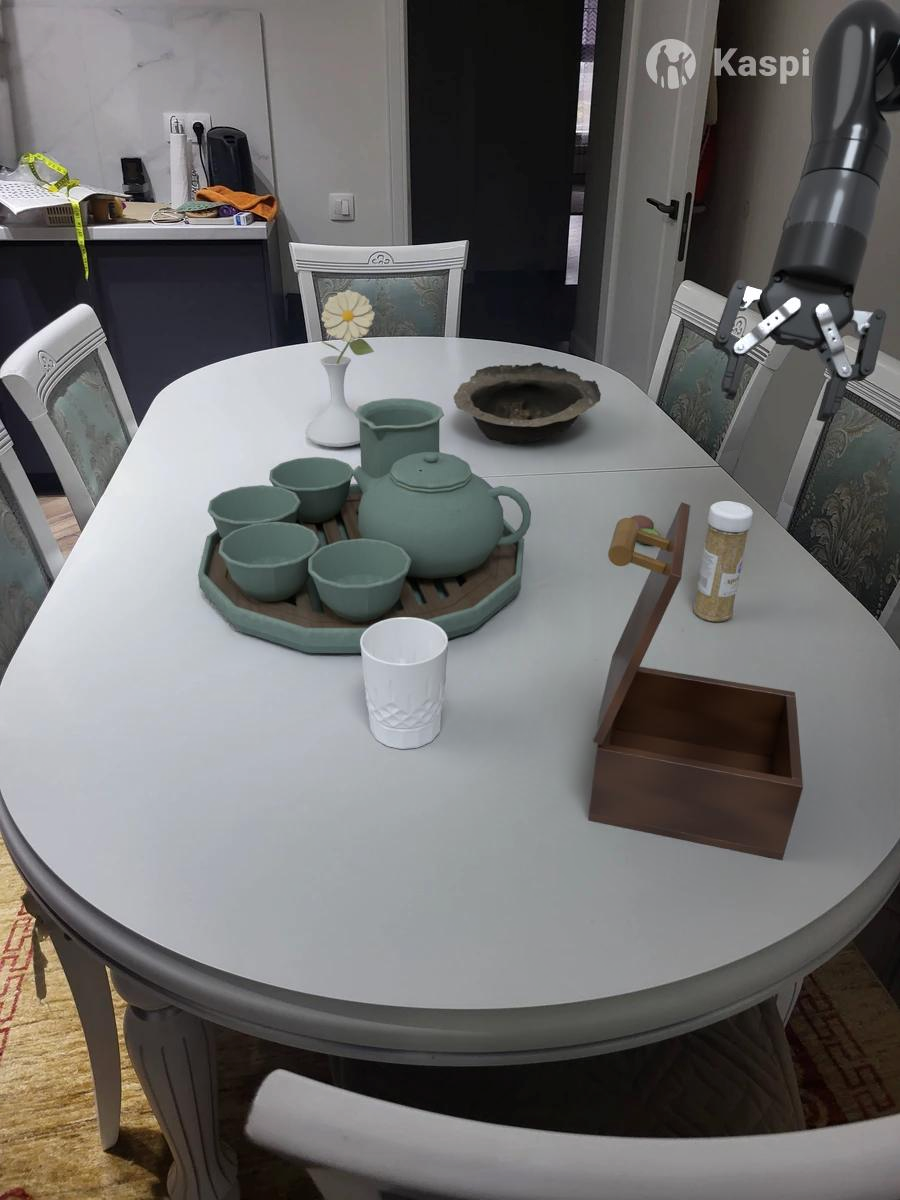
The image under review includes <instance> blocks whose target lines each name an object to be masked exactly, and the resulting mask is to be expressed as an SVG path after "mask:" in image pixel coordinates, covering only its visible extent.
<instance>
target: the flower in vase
mask: <svg viewBox="0 0 900 1200" xmlns="http://www.w3.org/2000/svg"><path fill="white" fill-rule="evenodd" d="M372 309H373V306H372V304H370V299H369V298H367V297H366V296H365V295H362V294H360V293H359V292H357V291H352V290H350V289H346V291H343V292H341V291H338V292H337V293H336V295H333V296H330V297H328V300H327V302H326V303H325V305H324V308H323V311H322V313H321V321H322V322H323V326H324V328H325V329H326V333H327V335H330V337H334V338H335V339H336V340H341V341H342V342H345V343H346V345H345V347H343V349H342V351H341V352H340V350H339V348H337V347H336V346H334V345H332V344H330V343H327V342H325V341H323V340H322V339H321V338H319V337H318V339H319V341H320V342H322V344H324V345H326V346H328V347H330V348H331V349H334V350H335V351H338V352H340V354H339V355H330V356H325V357H322V358H320V360H319V362H320V364H321V365H322V366H323V368H324V369H325V372H326V374H327V377H328V382H329V391H330V399H329V403H328V405H327V407H326V408H325V409H324V410H323V411H321V412H320V413H319V414H318V415H317V416H315V417H314V418H313V419H312V420H311V421H310V422H309V423H308V424H307V426H306V429H305V432H304V433H305V436H306V437H307V438H308V440H309V441H311V442H312V443H315V444H317V445H321V446H325V447H333V448H342V447H343V448H344V447H351V446H355V445H358V444H360V427H359V419H358V418H357V417H356V416H355V415H354V414H355V412H356V410H354V409H352V408H351V407H350V406H349V405H348V403H347V402H346V399H345V398H346V397H345V375H346V371H347V368H348V367H349V365H350V363H351V361H352V359H351V358H350V357H347V356H344V354H345V352H346V351H347V349H348V347H349V348H350V350H351V351H352V352H353V354H354V355H356V356H364V355H368V354H371V353H372V354H373V353H374V352H375V350H374V349H373V348H372V347H371V345H370V344H369V343H368V342H367V341H366V340H364V339H363V336H367V334H368V332H369V331H370V327H371V326H372V325H373V321H374V319H375V314H376V313H375V311H373V310H372Z"/></svg>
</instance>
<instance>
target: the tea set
mask: <svg viewBox="0 0 900 1200" xmlns="http://www.w3.org/2000/svg"><path fill="white" fill-rule="evenodd" d="M354 415H355V416H356V417H357V418H358V419H359V427H360V443H359V448H360V451H359V452H360V465H358V466H356V467H355V468H353V467H352V466H351V465H350V463H347V462H345V461H342V460H339V459H336V458H330V457H320V456H311V457H301V458H300V457H299V458H294V459H291V460H288V461H287V460H286V461H284V462H280V463H279V464H278V465H276V466H274V467H273V468H272V469H270V471H269V478H268V480H269V482H270V483H271V484H272V485H265V484H264V485H263V484H261V485H260V484H259V485H249V486H247V485H246V486H239V487H236V488H233V489H229V490H226V491H223V492H221V493H218V495H216V496H215V497H213V498H212V499H210V500H209V504H208V507H207V513H208V514H209V515H210V517H211V519H212V520H213V523H214V525H215V527H216V529H215V530H214V531H212V532H211V533H210V534H208V535H207V536H206V538H205V543H204V547H203V551H202V555H201V560H200V564H199V568H198V573H197V578H198V585H199V588H200V589H201V591H202V593H203V594H204V596H206V598H207V599H208V600H209V601H210V602H211V603H212V604H213V605H214V606H215V607H216V609H218V611H219V612H220V613H221V614H222V615H223V616H224V617H225V618H226V619H227V620H228V622H229V623H230V624H231V625H232V626H233V627H234V628H235V629H236V630H237V631H238V632H240V633H245V634H247V635H250V636H254V637H257V638H259V639H260V638H261V639H263V640H266V641H268V642H269V641H270V642H273V643H276V644H279V645H282V646H285V647H288V648H291V649H295V650H298V651H301V652H304V653H307V654H361V646H360V639H361V636H362V634H363V633H364V632H365V630H366V629H368V628H369V627H370V626H372V625H373V624H375V623H378V622H380V621H383V620H386V619H391V618H398V617H413V618H420V619H424V620H427V621H430V622H432V623H434V624H436V625H438V626H439V627H441V628H442V629H443V630H444V631H445V633H446V635H447V638H448V639H451V638H456V637H458V636H459V637H460V636H462V635H465V634H469V633H472V632H474V631H475V630H477V629H478V628H479V627H481V626H482V625H483V624H484V623H485V622H487V621H488V620H489V619H490V618H492V617H493V616H495V614H497V613H498V612H499V611H500V610H501V609H503V608H504V607H505V606H507V604H509V603H510V602H511V601H512V600H514V599H515V598H516V597H517V595H518V594H519V592H520V591H521V583H522V574H523V573H522V572H523V562H524V551H525V550H524V548H525V538H524V536H525V535H526V534H527V532H528V529H529V528H530V526H531V517H532V510H531V508H530V504H529V502H528V501H527V499H526V498H525V497H524V495H523V494H522V492H520V491H518V490H517V489H515V488H513V487H510V486H504V485H499V486H496V487H495V486H494V487H493V486H492V485H490V484H489V483H488V482H487V481H486V480H485V479H484V478H483V477H481V476H479V475H477V474H475V473H474V472H473V471H472V469H471V465H470V464H469V463H468V461H465V460H463V459H462V458H460V457H458V456H456V455H454V454H450V453H446V452H441V451H440V421H441V419H442V418H443V417H444V416H445V414H444V411H443V408H442V406H439V405H438V404H435V403H433V402H431V401H427V400H422V399H418V398H417V399H415V398H401V397H400V398H393V397H392V398H384V399H378V400H371V401H370V402H367V403H364V404H361V405H359V406H358V407H357V408H356V410H355V414H354ZM353 478H354V480H355V482H356V483H352V479H353ZM500 496H501V497H502V496H503V497H508V498H510V499H511V500H513V501H515V503H516V504H517V505H518V506H519V508H520V511H521V514H522V520H521V523H520V525H519V527H518V528H517V529H515V528H514V527H513V526H512V525H511V524H510V523H509V522H508V521H507V520H506V519H505V518H504V508H503V505H502V503H501V501H500V498H499V497H500Z"/></svg>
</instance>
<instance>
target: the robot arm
mask: <svg viewBox="0 0 900 1200" xmlns="http://www.w3.org/2000/svg"><path fill="white" fill-rule="evenodd" d="M811 79H812V80H811V81H812V82H811V111H810V127H811V129H810V130H811V140H810V144H809V147H808V149H807V154H806V156H805V157H806V158H805V160H804V163H803V164H804V165H803V168H802V172H801V175H800V179H799V182H798V185H797V188H796V191H795V193H794V195H793V197H792V199H791V202H790V205H789V208H788V211H787V215H786V218H785V219H784V221H783V224H782V233H781V236H780V240H779V244H778V247H777V250H776V254H775V257H774V261H773V264H772V268H771V271H770V275H769V279H768V281H767V282H768V283H767V285H766V286H765V287H764V288H763V289H760V288H755V287H752V286H749V285H748V284H747V282H746V281H745V280H744V279H737V280H735V281H734V283H733V285H732V287H731V289H730V291H729V294H728V296H727V300H726V302H725V305H724V308H723V311H722V314H721V317H720V320H719V323H718V325H717V329H716V331H715V334H714V337H713V340H712V346H713V348H714V349H715V350H717V351H718V350H719V351H721V352H723V353H724V354H725V355H726V356H727V363H726V366H725V370H724V374H723V376H722V377H723V378H722V381H721V385H720V389H721V392H723V393H726V394H725V397H724V399H726V400H729V401H734V399H735V398H736V396H737V393H738V390H739V387H740V383H741V379H742V375H743V372H744V368H745V365H746V361H747V358H748V357H747V354H749V353H750V352H752V351H753V350H754V349H755V348H757V347H759V346H760V345H761V344H762V343H764V342H765V341H766V340H767V339H769V338H770V339H771V340H772V341H774V342H775V343H774V344H775V345H780V346H793V347H796V348H797V349H799V350H802V351H808V352H809V351H811V350H815V349H816V352H817V354H818V356H819V359H820V361H821V362H822V363H824V365H825V368H826V371H827V373H828V375H829V377H830V379H829V380H828V381H826V384H825V388H824V390H823V394H822V398H821V401H820V404H819V408H818V412H817V416H816V421H819V422H823V423H824V422H825V423H826V422H827V421H828V420H829V419H830V418H833V417H834V416H835V415H837V414H838V412H839V411H840V409H841V406H842V402H843V399H844V395H845V392H846V388H847V386H848V385H847V384H848V382H854V381H855V382H862V381H864V380H865V379H867V377H869V376H871V375H872V374H874V371H875V368H876V365H877V359H878V355H879V350H880V346H881V342H882V338H883V332H884V328H885V323H886V319H887V313H886V311H885V310H883V309H879V308H878V309H875V310H874V311H873V312H871V311H865V310H858V309H855V308H854V304H853V299H854V293H855V291H856V287H857V284H858V280H859V276H860V274H861V273H860V272H861V268H862V266H863V262H864V258H865V255H866V252H867V248H868V245H869V241H870V237H871V235H872V230H873V227H874V224H875V219H876V216H877V209H878V202H879V196H880V191H881V189H882V188H881V187H882V184H883V181H884V177H885V174H886V170H887V166H888V164H889V161H890V160H889V159H890V156H891V152H892V148H893V142H894V141H893V138H894V137H893V130H892V128H891V126H890V125H889V123H888V121H887V120H886V119H885V117H884V115H892V114H894V115H895V114H898V113H900V13H899V12H898V11H897V10H896V9H895V8H894V7H893V6H891V5H890V4H888V2H886V1H885V0H853V1H851V2H849V3H848V4H847V5H845V6H844V7H842V8H841V9H840V10H838V12H837V13H836V15H834V17H833V18H832V19H831V20H830V22H829V24H828V25H827V27H826V28H825V30H824V32H823V34H822V36H821V38H820V40H819V44H818V46H817V48H816V51H815V56H814V61H813V66H812V76H811ZM755 303H756V305H757V309H758V312H759V314H760V316H761V319H762V320H761V322H759V323H758V324H757V325H756V326H755V327H753V328H752V329H751V330H750V331H749V332H748V333H747V334H745V335H743V336H742V337H741V338H740V339H738V338H736V337H735V336H733V335H732V332H733V329H734V326H735V323H736V320H737V317H738V315H739V312H745V311H746V310H748V308H749V307H750V305H751V304H755ZM849 323H850V324H852V325H853V327H854V334H855V335H856V336H857V337H859V343H858V348H857V351H856V357H855V361H854V363H852V364H851V363H850V361H849V360H850V359H849V358H848V355H847V354H846V347H845V344H844V341H843V339H842V336H841V334H840V332H841V330H843V329H844V328H845V327H846V326H847V325H848V324H849Z"/></svg>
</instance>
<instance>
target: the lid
mask: <svg viewBox="0 0 900 1200" xmlns="http://www.w3.org/2000/svg"><path fill="white" fill-rule="evenodd" d="M690 511H691V505H690V504H688V503H686V502H680V504H679V505H678V508H677V511H676V513H675V516H674V517H673V520H672V521H671V524H670V526H669V528H668V531H667V533H666V536H665V537H663V536H661V535H660V536H658V535H655V534H652V533H649V532H647V531H644V530H641V529H639V525H638V523H637V522H636V521H635V520H634V519H632V518H631V517H623V518H621V519H619V520H618V521H617V522H616V525H615V528H614V532H613V536H612V538H611V542H610V546H609V549H608V553H607V556H608V559H609V561H610V562H611V564H613V565H615V566H616V567H625V566H628V565H629V564H633V565H636V566H639V567H640V568H641V567H642V568H644V569H647V570H650V571H649V573H648V576H647V578H646V580H645V582H644V584H643V587H642V589H641V592H640V593H639V596H638V598H637V600H636V603H635V605H634V607H633V609H632V611H631V613H630V616H629V618H628V620H627V623H626V625H625V627H624V629H623V631H622V634H621V636H620V638H619V641H618V643H617V645H616V647H615V649H614V652H613V654H612V657H611V661H610V664H609V668H608V669H609V670H608V673H607V679H606V682H605V687H604V691H603V695H602V699H601V705H600V707H599V709H600V710H599V713H598V717H597V721H596V726H595V730H594V734H593V739H592V742H593V743H594V744H596V745H598V744H600V745H602V744H603V742H604V740H605V738H606V736H607V734H608V732H609V730H610V728H611V725H612V723H613V721H614V719H615V717H616V715H617V713H618V711H619V709H620V706H621V704H622V702H623V700H624V698H625V696H626V694H627V692H628V689H629V687H630V685H631V683H632V681H633V679H634V677H635V675H636V673H637V670H638V668H639V667H641V664H642V662H643V659H644V657H645V655H646V654H647V652H648V650H649V647H650V645H651V643H652V641H653V638H654V636H655V634H656V632H657V630H658V628H659V626H660V624H661V621H662V620H663V617H664V615H665V614H666V611H667V609H668V607H669V605H670V602H671V600H672V598H673V596H674V594H675V592H676V590H677V588H678V586H679V583H680V581H681V579H682V574H683V566H684V559H685V552H686V543H687V535H688V528H689V519H690ZM637 541H638V542H639V541H641V542H644V543H647V544H646V545H649V546H653V547H654V548H658V549H659V551H658V553H657V556H656V557H655V558H653V557H651V556H648V555H645V554H644V553H641V552H637V551H635V549H636V544H637ZM641 542H640V543H641Z"/></svg>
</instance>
